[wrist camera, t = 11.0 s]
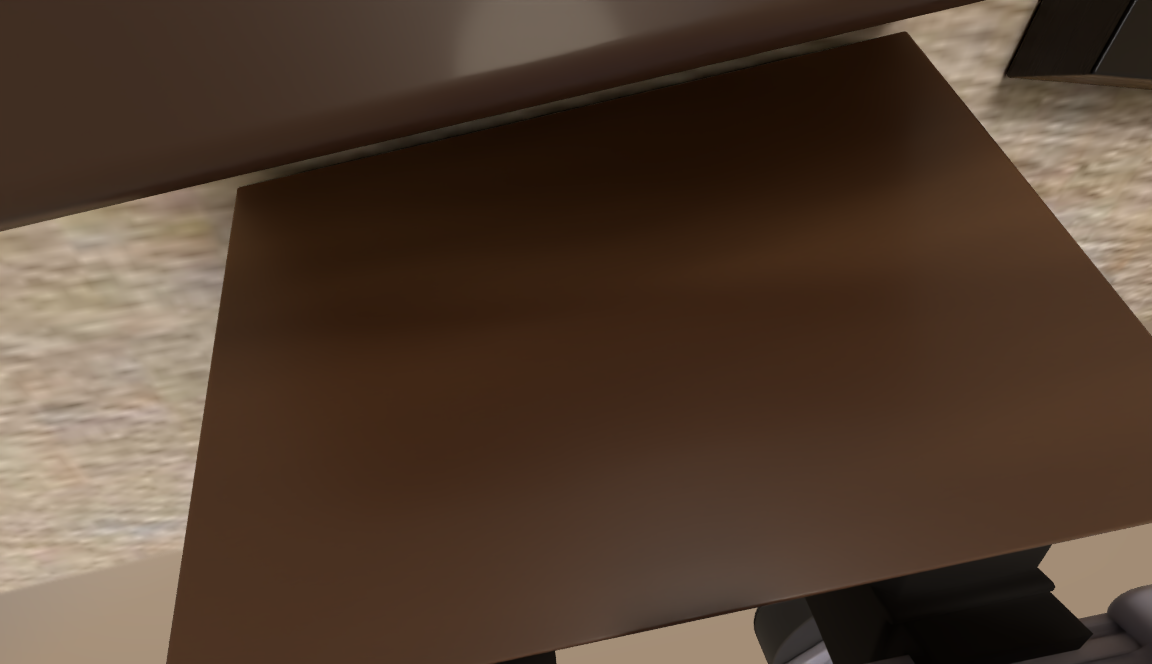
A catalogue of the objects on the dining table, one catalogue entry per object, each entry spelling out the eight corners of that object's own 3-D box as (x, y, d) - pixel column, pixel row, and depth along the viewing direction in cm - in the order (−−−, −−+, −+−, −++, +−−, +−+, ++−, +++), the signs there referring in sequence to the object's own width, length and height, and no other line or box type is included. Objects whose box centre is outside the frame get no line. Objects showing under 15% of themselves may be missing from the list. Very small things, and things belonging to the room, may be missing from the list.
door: (791, 221, 13) (928, 499, 10) (390, 313, 14) (399, 614, 10) (907, 29, 8) (1284, 496, 5) (236, 186, 8) (151, 738, 5)
